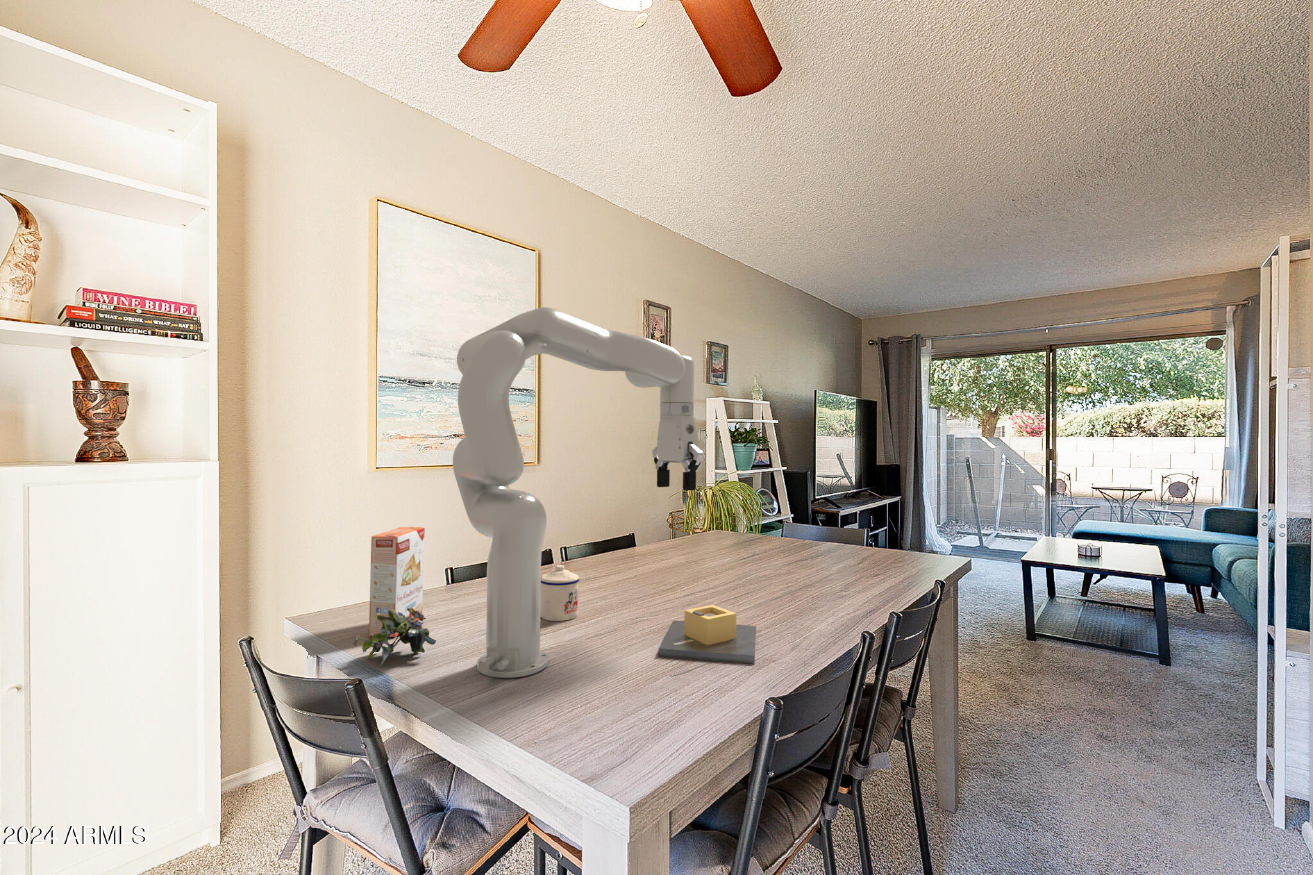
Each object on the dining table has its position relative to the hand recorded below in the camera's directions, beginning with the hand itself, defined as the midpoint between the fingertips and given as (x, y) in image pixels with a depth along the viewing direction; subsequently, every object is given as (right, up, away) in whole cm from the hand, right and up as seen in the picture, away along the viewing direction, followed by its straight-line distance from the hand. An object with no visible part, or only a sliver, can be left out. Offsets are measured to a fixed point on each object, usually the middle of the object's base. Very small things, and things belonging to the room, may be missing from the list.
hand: (675, 488), depth 134 cm
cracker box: (-60, -30, -4) cm, 67 cm away
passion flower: (-52, -30, -23) cm, 65 cm away
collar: (+7, -29, -12) cm, 32 cm away
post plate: (+7, -30, -12) cm, 33 cm away
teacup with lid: (-27, -30, +7) cm, 41 cm away
